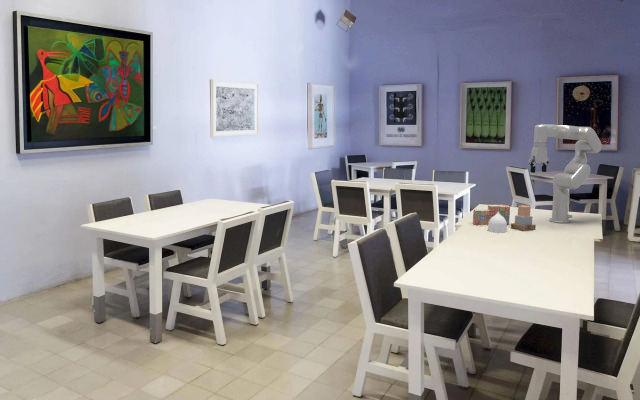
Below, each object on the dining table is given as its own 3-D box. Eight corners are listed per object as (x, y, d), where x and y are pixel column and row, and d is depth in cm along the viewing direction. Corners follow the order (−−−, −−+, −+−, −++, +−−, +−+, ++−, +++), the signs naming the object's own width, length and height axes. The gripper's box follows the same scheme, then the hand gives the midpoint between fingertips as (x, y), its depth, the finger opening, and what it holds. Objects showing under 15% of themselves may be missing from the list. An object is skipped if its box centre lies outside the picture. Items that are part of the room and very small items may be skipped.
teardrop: (483, 230, 331) (484, 211, 329) (494, 228, 338) (495, 209, 336) (499, 233, 322) (500, 213, 321) (510, 231, 329) (511, 211, 327)
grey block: (523, 222, 340) (523, 214, 339) (531, 224, 333) (532, 216, 333) (514, 223, 336) (515, 215, 336) (523, 225, 330) (524, 217, 329)
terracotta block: (523, 214, 337) (524, 205, 337) (530, 216, 333) (530, 206, 332) (517, 215, 335) (518, 205, 334) (524, 216, 331) (524, 207, 330)
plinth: (522, 226, 342) (522, 222, 342) (535, 229, 333) (535, 224, 333) (510, 228, 338) (511, 223, 337) (523, 231, 329) (523, 226, 328)
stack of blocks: (474, 225, 348) (475, 206, 346) (472, 223, 354) (473, 204, 352) (509, 225, 346) (510, 206, 345) (506, 223, 353) (507, 204, 351)
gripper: (545, 144, 349) (543, 171, 352) (525, 144, 341) (523, 172, 344) (554, 144, 342) (553, 172, 345) (534, 145, 335) (533, 173, 337)
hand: (538, 172), depth 344 cm, fingers open, 9 cm apart
